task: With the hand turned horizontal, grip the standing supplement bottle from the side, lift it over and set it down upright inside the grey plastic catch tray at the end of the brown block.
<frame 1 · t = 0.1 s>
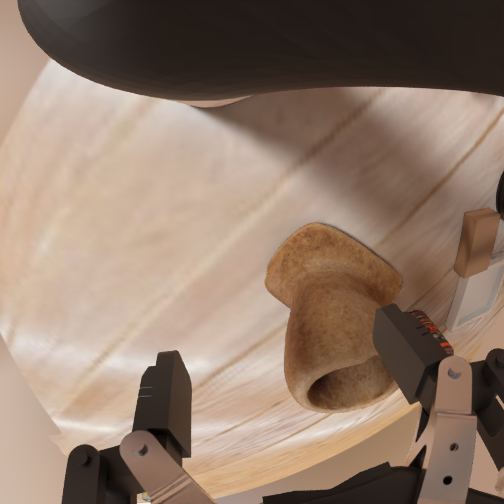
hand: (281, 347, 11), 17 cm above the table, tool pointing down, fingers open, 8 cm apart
supplement bottle: (408, 323, 38), on the table
brown block: (472, 238, 32), on the table
catch tray: (476, 288, 38), on the table
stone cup: (323, 279, 32), on the table
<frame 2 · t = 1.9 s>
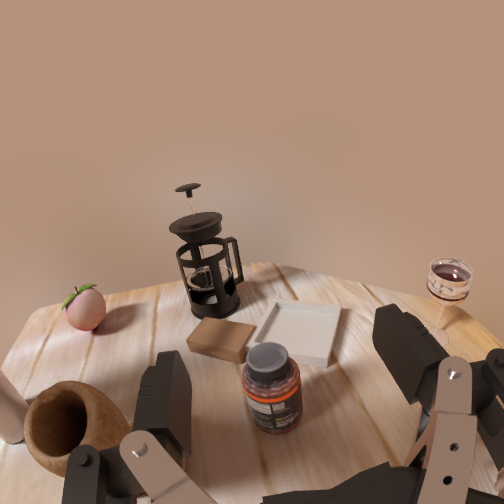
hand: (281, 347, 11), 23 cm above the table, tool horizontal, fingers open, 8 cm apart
wineglass: (434, 337, 37), on the table
supplement bottle: (277, 416, 31), on the table
brown block: (223, 344, 44), on the table
french press: (218, 305, 54), on the table
decorative fruit: (96, 329, 51), on the table
catch tray: (297, 334, 44), on the table
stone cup: (139, 470, 25), on the table
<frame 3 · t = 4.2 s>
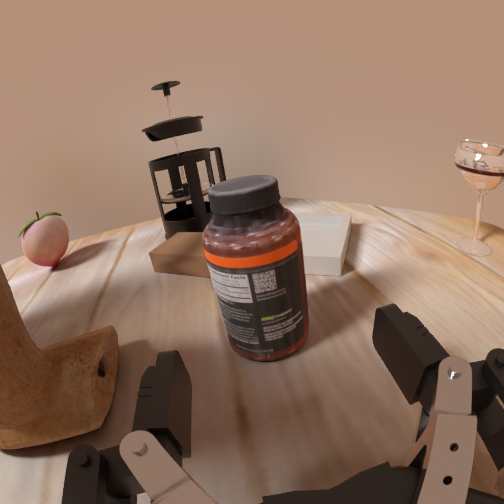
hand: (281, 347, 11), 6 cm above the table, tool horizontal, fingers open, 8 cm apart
wineglass: (473, 247, 26), on the table
supplement bottle: (269, 337, 21), on the table
brown block: (198, 261, 34), on the table
french press: (198, 231, 45), on the table
decorative fruit: (57, 266, 41), on the table
catch tray: (296, 246, 34), on the table
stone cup: (48, 416, 15), on the table
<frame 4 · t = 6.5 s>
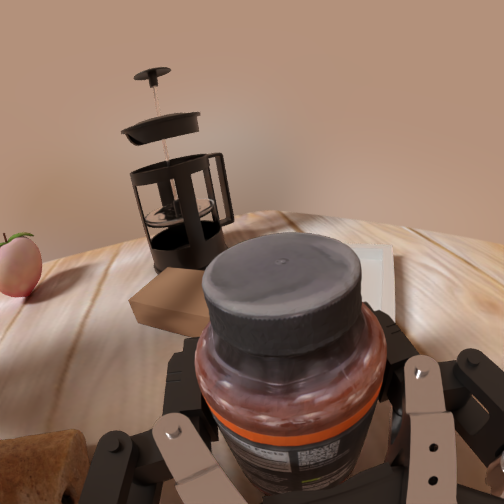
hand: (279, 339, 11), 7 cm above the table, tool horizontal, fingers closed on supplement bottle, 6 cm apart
supplement bottle: (299, 456, 12), on the table, touching gripper
brown block: (194, 311, 25), on the table
french press: (195, 259, 36), on the table
decorative fruit: (31, 296, 32), on the table
catch tray: (324, 292, 25), on the table
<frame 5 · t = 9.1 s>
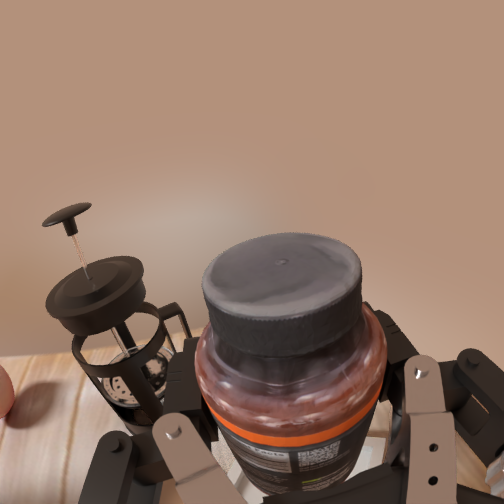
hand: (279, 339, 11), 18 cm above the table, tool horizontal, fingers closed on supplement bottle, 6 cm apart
supplement bottle: (299, 456, 12), point 11 cm above the table, touching gripper
brown block: (166, 499, 17), on the table
french press: (165, 408, 28), on the table
decorative fruit: (10, 413, 25), on the table
catch tray: (299, 494, 17), on the table
when the fingers open (9 cm above the table, at t = 11.8 s): supplement bottle drops 1 cm, resting on catch tray.
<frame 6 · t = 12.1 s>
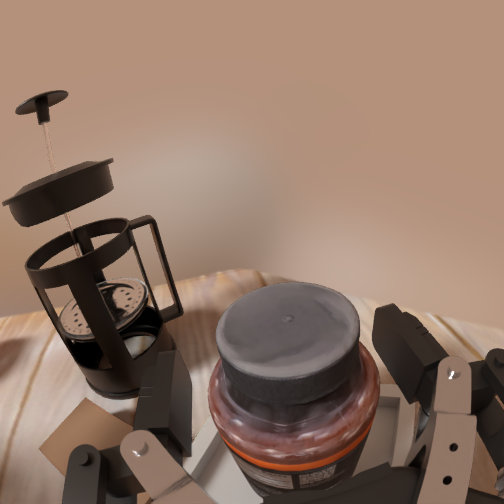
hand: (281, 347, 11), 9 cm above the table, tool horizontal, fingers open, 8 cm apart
supplement bottle: (300, 468, 13), point 1 cm above the table, touching catch tray
brown block: (118, 470, 13), on the table
french press: (135, 360, 24), on the table
catch tray: (299, 469, 13), on the table
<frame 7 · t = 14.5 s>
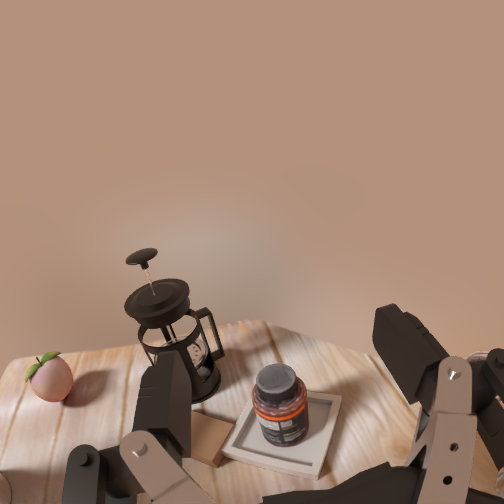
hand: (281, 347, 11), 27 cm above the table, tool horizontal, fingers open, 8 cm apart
supplement bottle: (285, 430, 31), point 1 cm above the table, touching catch tray
brown block: (198, 439, 32), on the table
french press: (195, 381, 43), on the table
decorative fruit: (66, 397, 40), on the table
catch tray: (285, 431, 32), on the table
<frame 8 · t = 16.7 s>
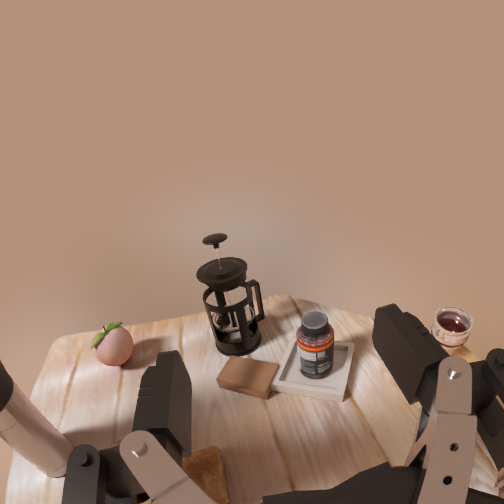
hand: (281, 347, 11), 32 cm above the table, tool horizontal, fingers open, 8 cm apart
wineglass: (435, 371, 40), on the table
supplement bottle: (315, 368, 47), point 1 cm above the table, touching catch tray
brown block: (249, 380, 47), on the table
french press: (240, 340, 58), on the table
decorative fruit: (124, 362, 55), on the table
catch tray: (315, 370, 47), on the table
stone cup: (185, 496, 28), on the table
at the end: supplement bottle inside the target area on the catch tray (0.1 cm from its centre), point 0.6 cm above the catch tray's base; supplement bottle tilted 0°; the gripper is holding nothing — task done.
